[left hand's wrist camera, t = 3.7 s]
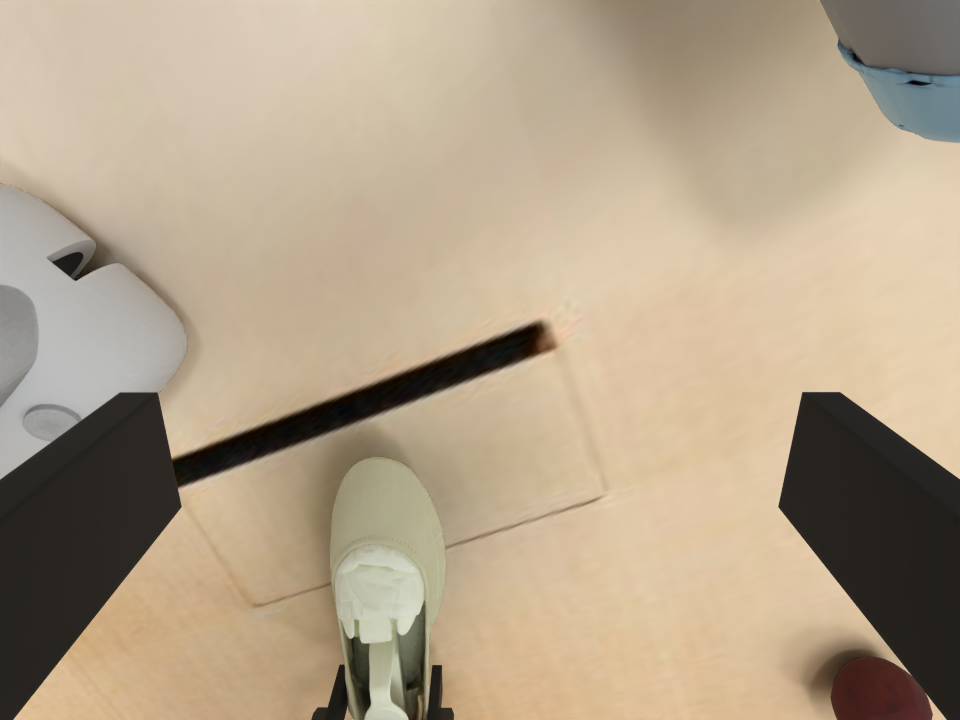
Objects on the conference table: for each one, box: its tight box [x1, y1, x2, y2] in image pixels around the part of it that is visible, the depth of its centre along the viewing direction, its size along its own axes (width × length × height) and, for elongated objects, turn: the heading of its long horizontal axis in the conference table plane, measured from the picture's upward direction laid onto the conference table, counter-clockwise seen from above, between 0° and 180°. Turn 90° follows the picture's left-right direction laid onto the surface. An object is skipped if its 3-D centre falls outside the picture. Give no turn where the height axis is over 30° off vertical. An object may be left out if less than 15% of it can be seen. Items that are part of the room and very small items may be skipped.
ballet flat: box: [330, 457, 446, 720], centre depth 43 cm, size 8×25×8 cm, turn 1°
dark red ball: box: [831, 656, 933, 720], centre depth 51 cm, size 7×8×7 cm
